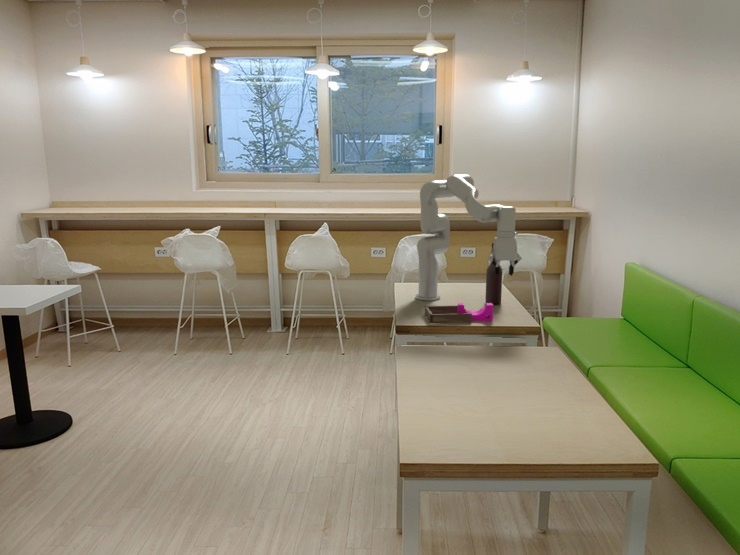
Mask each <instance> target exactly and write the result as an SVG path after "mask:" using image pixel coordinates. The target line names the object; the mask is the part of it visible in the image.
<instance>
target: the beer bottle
mask: <svg viewBox="0 0 740 555" xmlns="http://www.w3.org/2000/svg"><path fill="white" fill-rule="evenodd" d="M493 245H494V242H492V243H491V254H492V253H493ZM491 254H490V255H491ZM492 259H493V260H494V261H495V259H494V258H492ZM499 267H500V270H499V276H497V275H496V274H495V266H494V265H493V264H492V262H490V263H489V265H488V266H487V268H486V277H485V279H486V280H485V282H486V283H485V304H486V303H492V304H493V306H498V305H501V304H502V291H503V290H502V286H503V269H502V266H501V265H500V264H499Z"/></svg>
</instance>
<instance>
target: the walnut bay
mask: <svg viewBox="0 0 740 555" xmlns="http://www.w3.org/2000/svg"><path fill="white" fill-rule="evenodd" d="M424 314H425V315H424V316H425V318H426V317H427V318H426V319H427V321H428V320H429V321H428V322H429V324H430V323H440V324H467V323H470V322H471V323H472V322H473V321H472V313H458V304H457V305H428V306H427V305H425V306H424Z"/></svg>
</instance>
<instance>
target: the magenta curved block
mask: <svg viewBox="0 0 740 555" xmlns="http://www.w3.org/2000/svg"><path fill="white" fill-rule="evenodd" d="M457 305H458V313H472V322H494V320H493V319H494V305H493V304H492V303H486V302H485V306H483V307H482V308H480V309H478V310H473V311H471V310H468V309H466V308H465V305H464V303H463V302H458V303H457Z"/></svg>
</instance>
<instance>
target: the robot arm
mask: <svg viewBox="0 0 740 555" xmlns="http://www.w3.org/2000/svg"><path fill="white" fill-rule="evenodd" d="M452 197H456V198H457V199H458V200H460V202H463V203H464V207H465V209H466V212H467V213H468V214H469V215H470V216H471V217H472V218H473V219H475V220H476V221H478V222H480V223H494V222H497V225H496V226H497V228H496V232H497V233H496V236H495V237H494V241H493V243H494V245H493V253H492V252H491V253H492V254H490V255H489V257H487V260H488V261H489V262H490V263H491V262H492V264H493V265H494V266H495V274H496V275H497V276H499V270H500V267H499V265H500V263H501V261H509V265H508V275H509V276H511V277H512V276H513V274H514V271H515V266H516V265H517V264H518V263H519V262H520V261H521V260H522V257H521V255H520V254H519V253H518V243H517V237H516V236H517V235H519V232H518V231H516V214H517V212H516V211H517V210H516V207H514V206H512V205H511V206H510V205H502V204H483V203H481V202H480V201H478V200H477V199H478V198H479V189H477V188H476V187H475V181H474V179H473V177H472V176H470V175H469V174H465V173H463V174H461V173H460V174H452V175H449V176H448V177H447V178H446V179H438V180H437V179H436V180H429V181H427V182H425V183H424V184H422V186H421V188H420V192H419V201H420V230H421V232H422V233H423V234H427V235H428V236H424V237H421V238H419V240H418V241H417V244H416V249H417V255H418V256H417V257H418V293H417V294H415V299H417V300H420V301H426V302H427V301H437V300H440V299H441V294H438V273H439V270H438V269H439V265H438V261H437V258H436V255H441V254H445V253H446V252H447V251H448V249H449V247H450V235H451V234H450V232H451V224H450V220H449V217H448V216H447V215H446V214H444V213H439V205H438V202H437V200H436V199H441V198H443V199H444V198H452ZM430 234H434V235H430ZM492 258H494V259H495V261H494V260H493V259H492Z"/></svg>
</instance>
